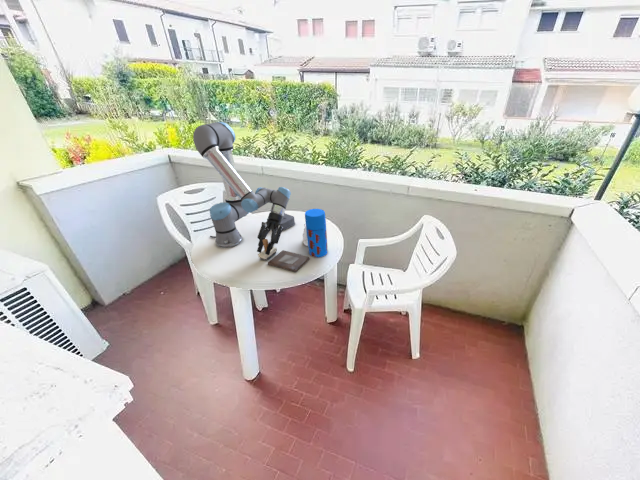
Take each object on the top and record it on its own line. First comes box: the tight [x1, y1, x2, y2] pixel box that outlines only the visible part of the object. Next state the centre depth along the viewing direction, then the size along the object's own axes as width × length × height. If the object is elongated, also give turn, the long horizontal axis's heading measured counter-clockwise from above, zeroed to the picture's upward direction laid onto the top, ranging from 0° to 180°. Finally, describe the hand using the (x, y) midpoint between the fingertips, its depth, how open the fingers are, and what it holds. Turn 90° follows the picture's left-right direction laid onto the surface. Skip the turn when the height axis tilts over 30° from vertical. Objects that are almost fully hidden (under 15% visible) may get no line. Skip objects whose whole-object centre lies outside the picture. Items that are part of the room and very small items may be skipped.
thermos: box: [304, 208, 328, 258], centre depth 157 cm, size 11×11×25 cm
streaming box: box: [266, 212, 296, 231], centre depth 192 cm, size 14×14×5 cm
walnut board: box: [267, 249, 310, 273], centre depth 155 cm, size 18×14×2 cm
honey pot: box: [302, 222, 308, 247], centre depth 169 cm, size 13×13×18 cm
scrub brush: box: [257, 238, 278, 261], centre depth 157 cm, size 10×5×10 cm, turn 156°
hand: (262, 253), depth 155 cm, fingers closed on scrub brush, 5 cm apart
